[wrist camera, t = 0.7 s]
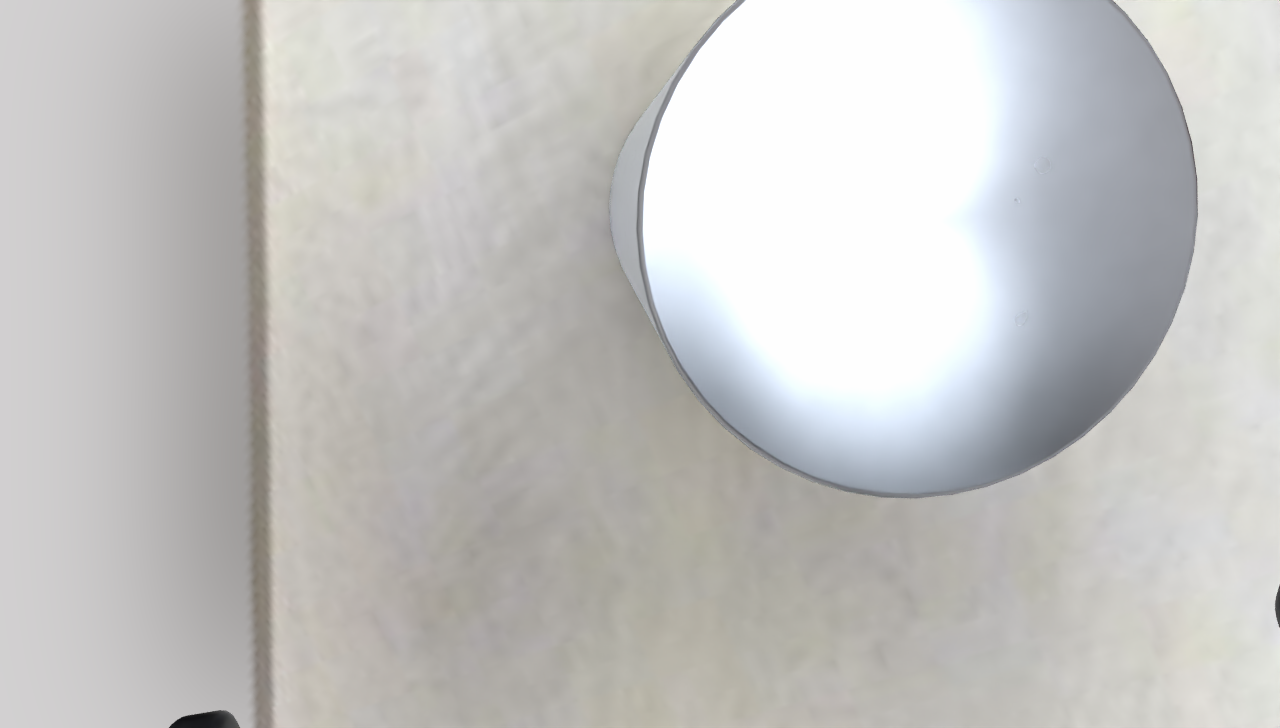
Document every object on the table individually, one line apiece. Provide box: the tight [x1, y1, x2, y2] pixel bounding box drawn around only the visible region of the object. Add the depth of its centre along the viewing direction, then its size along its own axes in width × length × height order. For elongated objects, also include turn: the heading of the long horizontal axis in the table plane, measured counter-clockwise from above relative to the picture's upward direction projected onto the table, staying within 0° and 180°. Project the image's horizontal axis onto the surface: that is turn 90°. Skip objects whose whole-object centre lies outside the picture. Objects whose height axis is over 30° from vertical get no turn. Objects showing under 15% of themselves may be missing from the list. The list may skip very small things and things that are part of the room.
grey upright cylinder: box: [609, 0, 1198, 498], centre depth 18 cm, size 6×6×12 cm
